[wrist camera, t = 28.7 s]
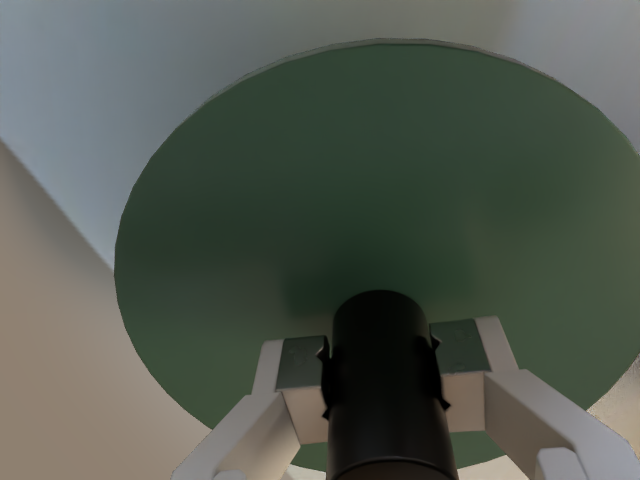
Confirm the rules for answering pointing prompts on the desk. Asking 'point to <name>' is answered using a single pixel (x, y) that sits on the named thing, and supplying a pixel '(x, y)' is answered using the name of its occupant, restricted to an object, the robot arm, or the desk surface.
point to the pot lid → (384, 241)
